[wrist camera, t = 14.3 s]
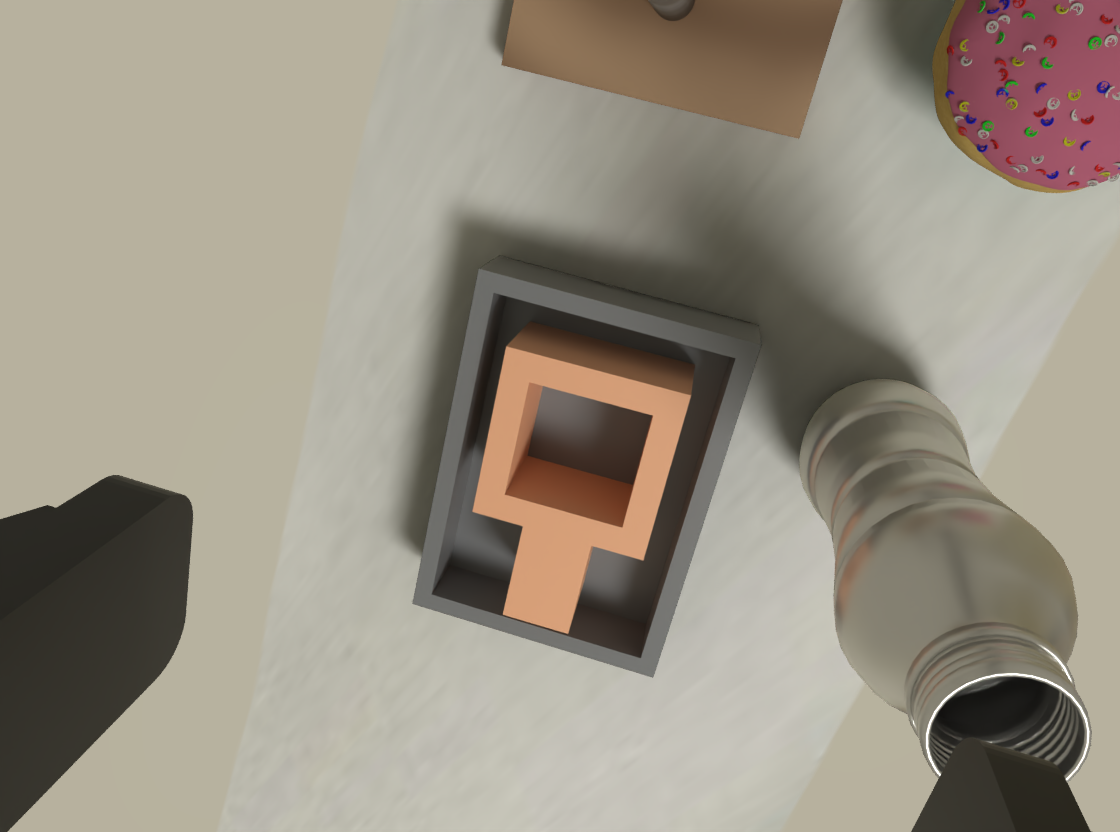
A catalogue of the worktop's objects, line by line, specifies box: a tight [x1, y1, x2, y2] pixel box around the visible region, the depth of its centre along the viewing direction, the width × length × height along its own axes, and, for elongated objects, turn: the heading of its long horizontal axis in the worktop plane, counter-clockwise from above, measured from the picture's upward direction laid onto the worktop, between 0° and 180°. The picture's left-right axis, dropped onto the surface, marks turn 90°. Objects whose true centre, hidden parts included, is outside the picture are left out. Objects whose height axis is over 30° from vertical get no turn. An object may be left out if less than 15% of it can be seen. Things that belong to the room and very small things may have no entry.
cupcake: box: [932, 0, 1120, 193], centre depth 27 cm, size 9×8×12 cm
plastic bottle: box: [799, 379, 1092, 782], centre depth 29 cm, size 6×7×20 cm
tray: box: [412, 256, 761, 677], centre depth 40 cm, size 16×12×4 cm
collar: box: [472, 321, 695, 634], centre depth 39 cm, size 12×8×4 cm, turn 167°
